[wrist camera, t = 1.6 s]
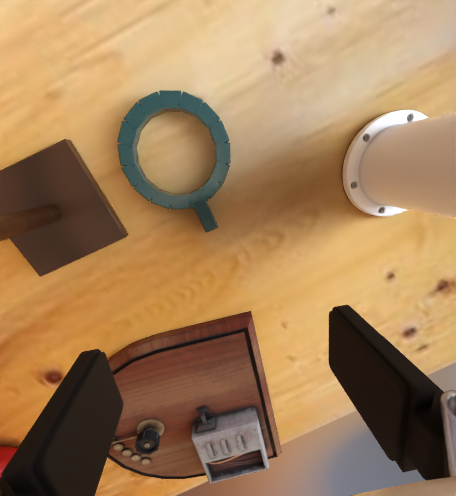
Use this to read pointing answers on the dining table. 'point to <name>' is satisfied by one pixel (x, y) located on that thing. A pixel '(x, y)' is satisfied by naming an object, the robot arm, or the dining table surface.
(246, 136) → the dining table surface
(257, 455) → the control panel
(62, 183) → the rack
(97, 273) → the dining table surface
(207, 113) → the ring
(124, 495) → the dining table surface
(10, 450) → the pomegranate
